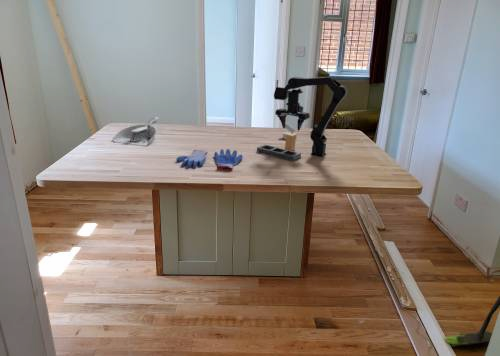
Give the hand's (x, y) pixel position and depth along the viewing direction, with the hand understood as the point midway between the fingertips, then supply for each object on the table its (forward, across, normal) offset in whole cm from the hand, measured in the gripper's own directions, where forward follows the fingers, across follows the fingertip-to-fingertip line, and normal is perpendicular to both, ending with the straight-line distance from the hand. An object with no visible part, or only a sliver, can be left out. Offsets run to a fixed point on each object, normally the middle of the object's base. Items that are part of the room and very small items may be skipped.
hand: (291, 129), depth 216 cm
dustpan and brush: (+11, +77, +39) cm, 87 cm away
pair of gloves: (+12, +20, +45) cm, 51 cm away
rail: (+12, 0, +12) cm, 17 cm away
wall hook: (+12, +14, -22) cm, 28 cm away
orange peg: (+12, 0, 0) cm, 12 cm away
